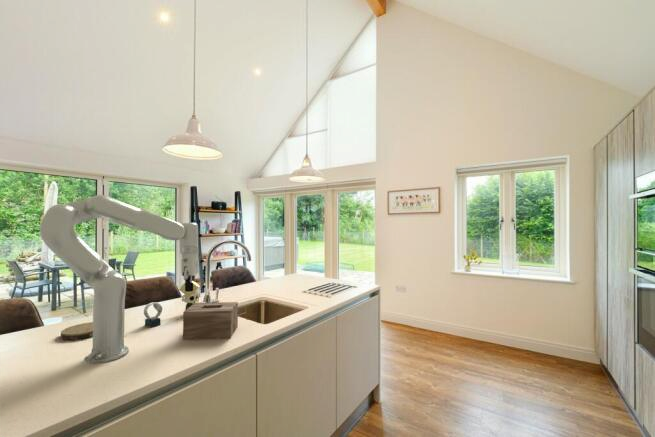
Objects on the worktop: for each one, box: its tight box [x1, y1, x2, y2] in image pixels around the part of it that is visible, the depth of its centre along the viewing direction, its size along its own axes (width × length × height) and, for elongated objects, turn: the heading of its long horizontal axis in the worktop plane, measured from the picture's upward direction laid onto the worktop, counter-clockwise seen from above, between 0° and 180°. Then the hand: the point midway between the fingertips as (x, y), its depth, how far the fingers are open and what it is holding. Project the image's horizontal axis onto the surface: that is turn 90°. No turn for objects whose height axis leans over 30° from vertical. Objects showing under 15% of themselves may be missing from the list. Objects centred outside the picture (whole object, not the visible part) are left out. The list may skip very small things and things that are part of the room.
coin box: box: [182, 301, 239, 341], centre depth 132 cm, size 14×20×12 cm
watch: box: [143, 301, 163, 328], centre depth 142 cm, size 6×8×11 cm
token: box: [178, 280, 201, 298], centre depth 130 cm, size 2×6×6 cm
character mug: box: [181, 288, 201, 311], centre depth 160 cm, size 11×7×13 cm, turn 148°
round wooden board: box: [60, 321, 93, 342], centre depth 131 cm, size 16×16×3 cm
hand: (190, 290), depth 131 cm, fingers closed on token, 2 cm apart
